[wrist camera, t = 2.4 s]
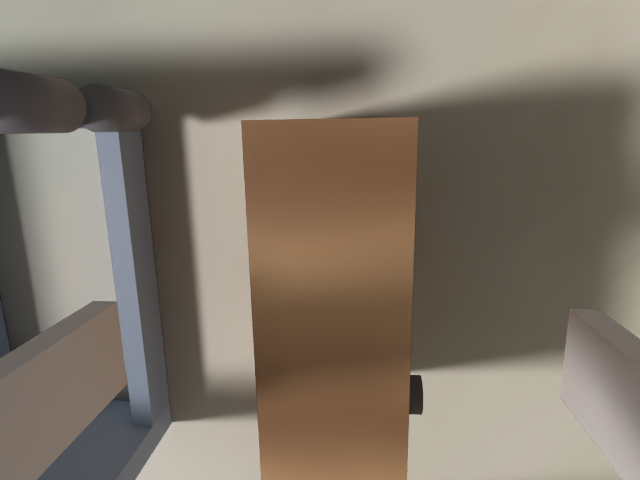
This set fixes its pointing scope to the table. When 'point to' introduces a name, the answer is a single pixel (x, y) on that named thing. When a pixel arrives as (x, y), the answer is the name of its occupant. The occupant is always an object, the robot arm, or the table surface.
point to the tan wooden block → (332, 294)
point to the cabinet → (127, 262)
